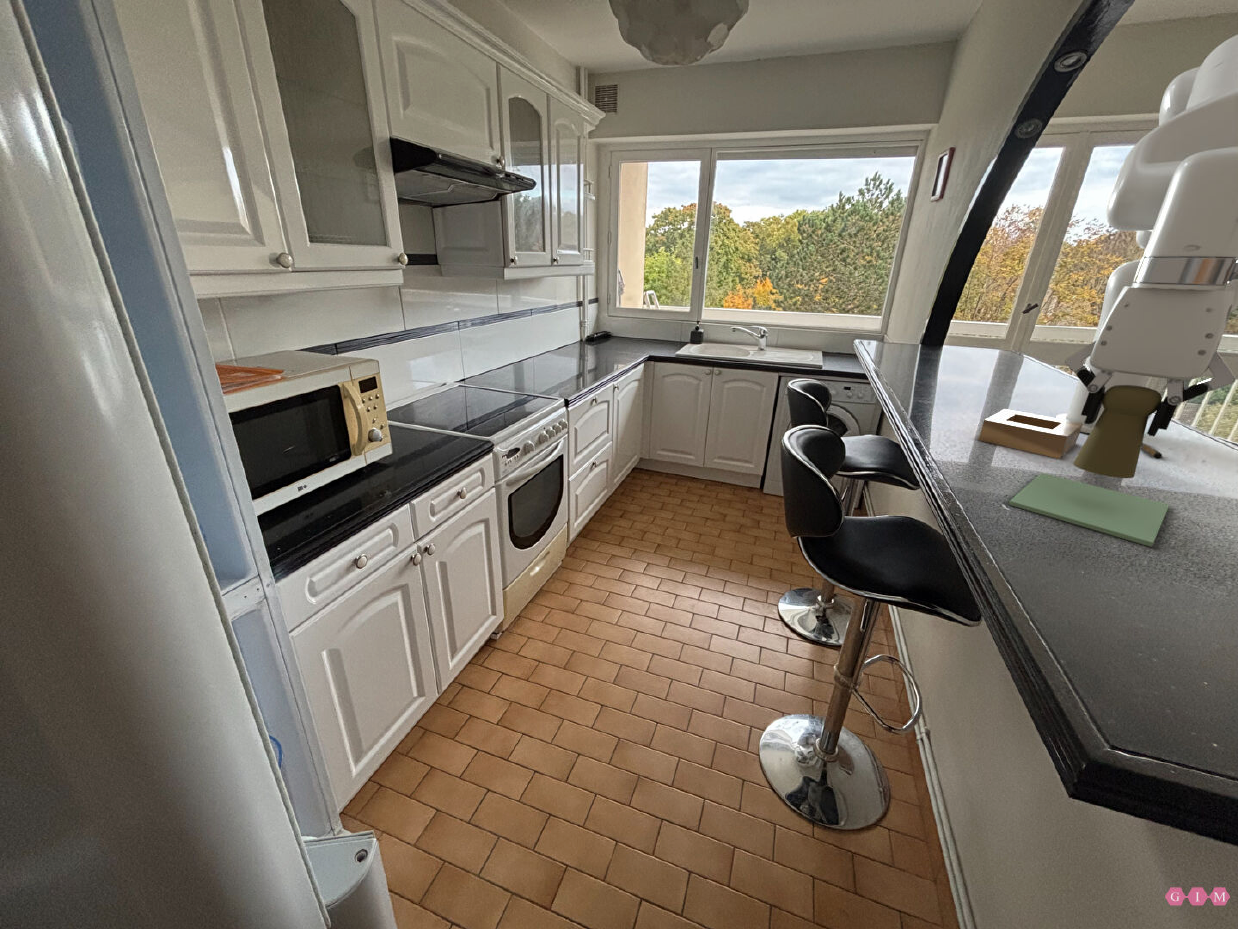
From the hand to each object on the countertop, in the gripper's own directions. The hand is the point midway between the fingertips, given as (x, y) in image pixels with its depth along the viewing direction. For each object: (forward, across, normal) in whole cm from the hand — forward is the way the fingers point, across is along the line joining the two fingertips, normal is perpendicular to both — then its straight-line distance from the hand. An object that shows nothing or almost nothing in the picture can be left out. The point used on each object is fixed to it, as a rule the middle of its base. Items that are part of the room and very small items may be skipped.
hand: (1120, 426), depth 64 cm
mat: (+11, 0, 0) cm, 11 cm away
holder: (+11, +13, -26) cm, 31 cm away
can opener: (+12, -2, -38) cm, 40 cm away
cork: (+6, 0, 0) cm, 6 cm away
